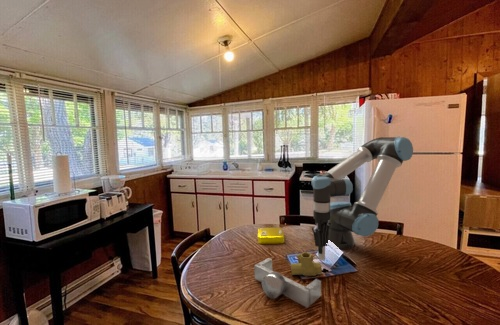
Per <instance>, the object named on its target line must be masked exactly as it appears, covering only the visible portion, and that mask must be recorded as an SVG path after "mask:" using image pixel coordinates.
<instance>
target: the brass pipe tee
mask: <svg viewBox="0 0 500 325" xmlns="http://www.w3.org/2000/svg"><path fill="white" fill-rule="evenodd" d="M322 270H323V269H322V264H321V262H319V261H318V262H315V261H314V256H313V254H312V253H310V252H308V251H303V252H301V253H299V254H297V262H295V263H294V262H293V263H292V262H291V263H290V271H291V275H292V276H296V275H297V276H298V275H299V276H301V275H303V276H304V277H305V276H306V277H307V276H312V277H316V276H317V275H322V274H323V271H322Z"/></svg>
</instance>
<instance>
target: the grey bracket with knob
mask: <svg viewBox="0 0 500 325" xmlns="http://www.w3.org/2000/svg"><path fill="white" fill-rule="evenodd" d="M253 267H254V280H256V281H258V282H260V283H261V287H262V290H263V292H264V294H265V295H266V296H267V298H269V299H272V300H275V299H277V298H278V297H279V296H281V295H283V296H284V297H286V298H288V299H290V300H292V301H294V302H295V303H298V304H300V305H301V306H303V307H305V308H307V309H308V308H309V307H310V306H311V305H313V304H314V303H315V302H316V301H317V300H319V298H321V296H322V280H320V279H318V278H315V279H314V280H313V281H311V282H309V284H307V285H306V286H305V285H303V284H300V283H298V282H297V281H295V280H293V279H291V278H288V277H286V276H284V275H283V274H281V273H280V272H279V271H274V270H273V259H272V258H270V257H267V258H265V259H264V260H261V261H260V262H258V263H255V264H254V266H253Z"/></svg>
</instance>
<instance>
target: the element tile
mask: <svg viewBox="0 0 500 325" xmlns="http://www.w3.org/2000/svg"><path fill="white" fill-rule="evenodd" d="M283 230H284V229H283V228H282V227H258V228H257V243H258V244H260V245H261V244H262V245H267V244H268V245H269V244H270V245H273V244H284V243H285V234H284V231H283Z"/></svg>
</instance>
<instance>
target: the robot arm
mask: <svg viewBox="0 0 500 325" xmlns="http://www.w3.org/2000/svg"><path fill="white" fill-rule="evenodd" d="M413 154H414V147H413V143H412V141H411V140H410V139H409V138H407V137H406V136H402V137H400V136H397V137H396V136H394V137H393V136H392V137H382V136H381V137H376V138H372V139H371V140H370V141H367V142H366V143H364V144H363V145H361V146H359V147H358V148H357V151H355V152H354V153H353V154H351V155H349V156H348V157H347V158H344V160H342V161H341V162H339V163H338V164H336V165H335V166H333V167H331V168H330V169H329V170H328V171H326V172H324V173H323V174H320V175H314V176H313V177H312V179H311V186H312V190H313V191H312V192H313V196H312V198H313V199H312V200H313V219H314V220H315V223H314V224H315V225H314V227H312V228H311V230H312V233H313V238H314V246H315V247H318V248H317V249H318V250H317V253H318V254H317V255H318V260H321V261H325V260H326V247H327V246H328V245H327V244H326V243H328V240H330V241H331V242H333V243H334V244H335V245H336V246H337V247H339V248H340V249H339V250H347V249H351V248H353V247H354V246H355V239H354V235H353V233H354V234H356V235H357V236H361V237H369V236H371V235H373V234H374V233H375V232H377V229H378V227H379V218H378V211H377V208H378V206H379V204H380V202H381V200H382V198H383V196H384V194H385V192H386V189H387V188H388V186H389V184H390V182H391V180H392V178H393V175H394V173H395V171H396V169H397V168H400V167H401V166H402V165H403V163H404V162H407V161H409V160H411V158H412V157H413ZM373 160H377V163H376V165H375V167H374V170H373V172H372V173H371V176H370V178H369V179H368V181H367V184H366V186H365V188H364V190H363V191H362V194H361V195H360V198H359V200H358V201H355V202H354V203H353V204H352V203H351V202H349V201H333V202H331V199H332V198H333V197H341V196H343V197H344V196H348V195H350V194H352V193H353V190H354V188H353V186H354V185H353V183H352V181H351V180H350V179H347V178H346V179H345V177H347V176H348V175H350V174H351V173H353V172H354V171H356V169H358V168H359V167H361V166H363V165H364V164H365V163H369V162H371V161H373Z"/></svg>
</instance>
